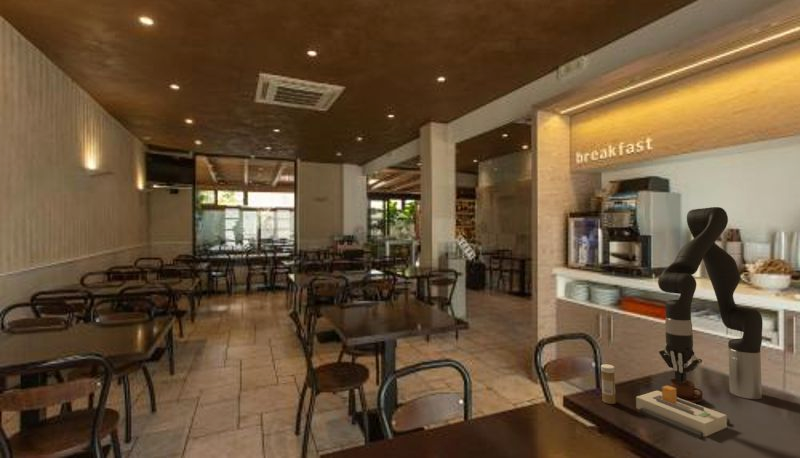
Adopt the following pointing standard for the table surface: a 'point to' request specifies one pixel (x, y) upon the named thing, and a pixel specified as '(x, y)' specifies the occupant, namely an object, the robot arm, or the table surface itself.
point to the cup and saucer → (686, 391)
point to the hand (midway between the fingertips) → (680, 382)
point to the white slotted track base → (673, 423)
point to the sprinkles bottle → (608, 383)
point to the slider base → (683, 412)
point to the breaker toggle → (669, 394)
